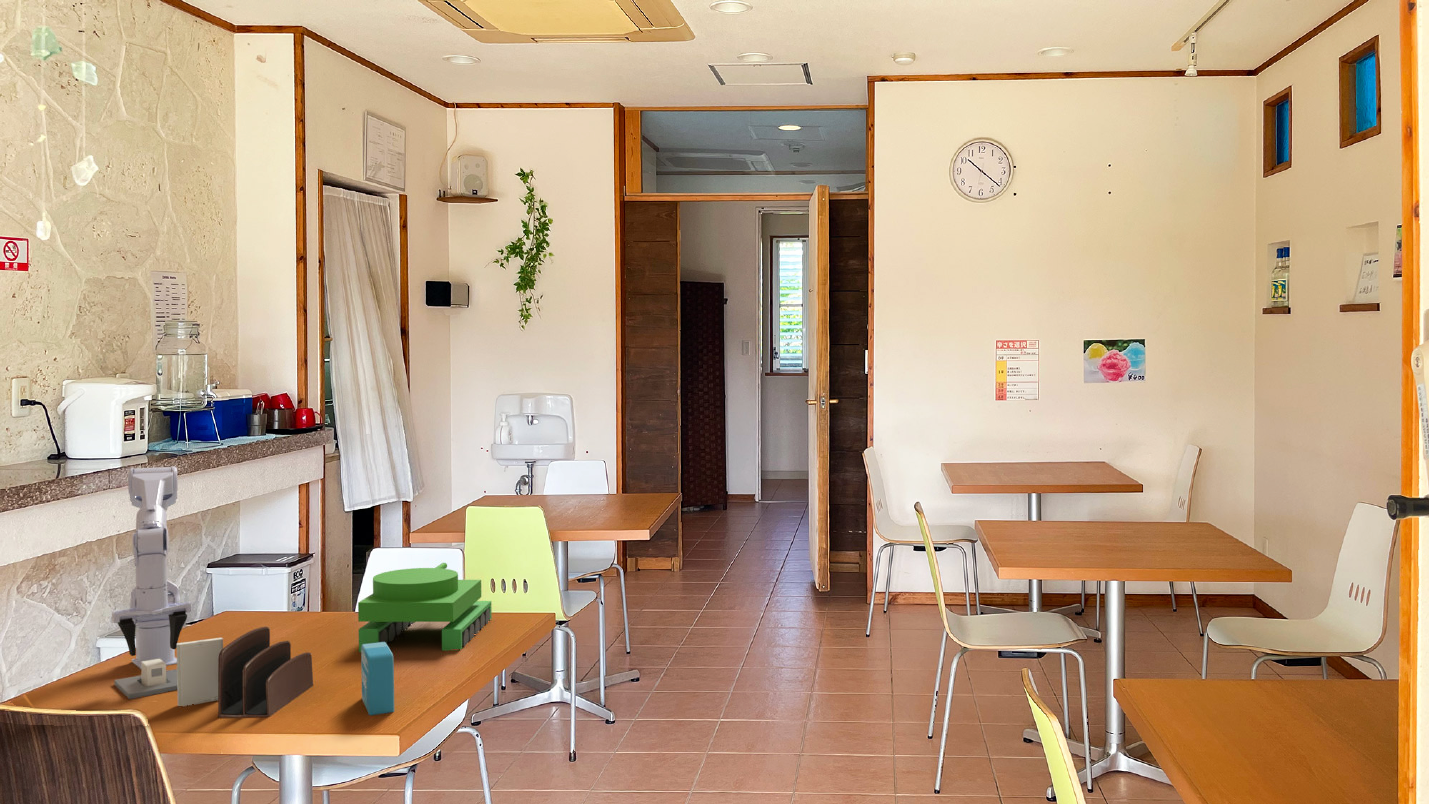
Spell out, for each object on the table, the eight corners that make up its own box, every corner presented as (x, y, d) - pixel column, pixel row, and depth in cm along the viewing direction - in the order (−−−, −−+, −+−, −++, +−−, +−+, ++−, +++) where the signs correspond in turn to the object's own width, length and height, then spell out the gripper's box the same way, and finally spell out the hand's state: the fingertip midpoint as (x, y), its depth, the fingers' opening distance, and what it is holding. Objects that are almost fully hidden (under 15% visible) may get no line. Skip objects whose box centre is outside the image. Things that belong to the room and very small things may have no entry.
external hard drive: (224, 701, 211) (223, 638, 210) (178, 708, 206) (177, 645, 206) (223, 698, 212) (221, 637, 212) (177, 706, 208) (176, 643, 207)
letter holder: (217, 721, 199) (215, 646, 199) (266, 689, 219) (265, 621, 219) (269, 721, 199) (267, 647, 198) (314, 689, 219) (312, 621, 218)
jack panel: (114, 684, 222) (114, 678, 222) (235, 663, 238) (235, 657, 238) (129, 699, 212) (129, 692, 212) (254, 675, 228) (254, 669, 228)
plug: (138, 682, 223) (138, 659, 223) (157, 679, 226) (156, 656, 226) (147, 690, 218) (147, 666, 218) (166, 687, 220) (166, 663, 220)
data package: (361, 703, 209) (360, 642, 209) (385, 699, 211) (384, 640, 211) (369, 721, 198) (368, 657, 198) (394, 717, 200) (393, 654, 200)
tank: (498, 620, 278) (497, 558, 277) (463, 657, 243) (462, 586, 242) (406, 620, 279) (405, 558, 278) (357, 656, 244) (356, 586, 243)
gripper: (116, 594, 212) (118, 661, 213) (194, 584, 222) (196, 649, 222) (108, 589, 218) (110, 654, 218) (185, 579, 227) (186, 642, 228)
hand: (153, 651), depth 221 cm, fingers open, 7 cm apart
